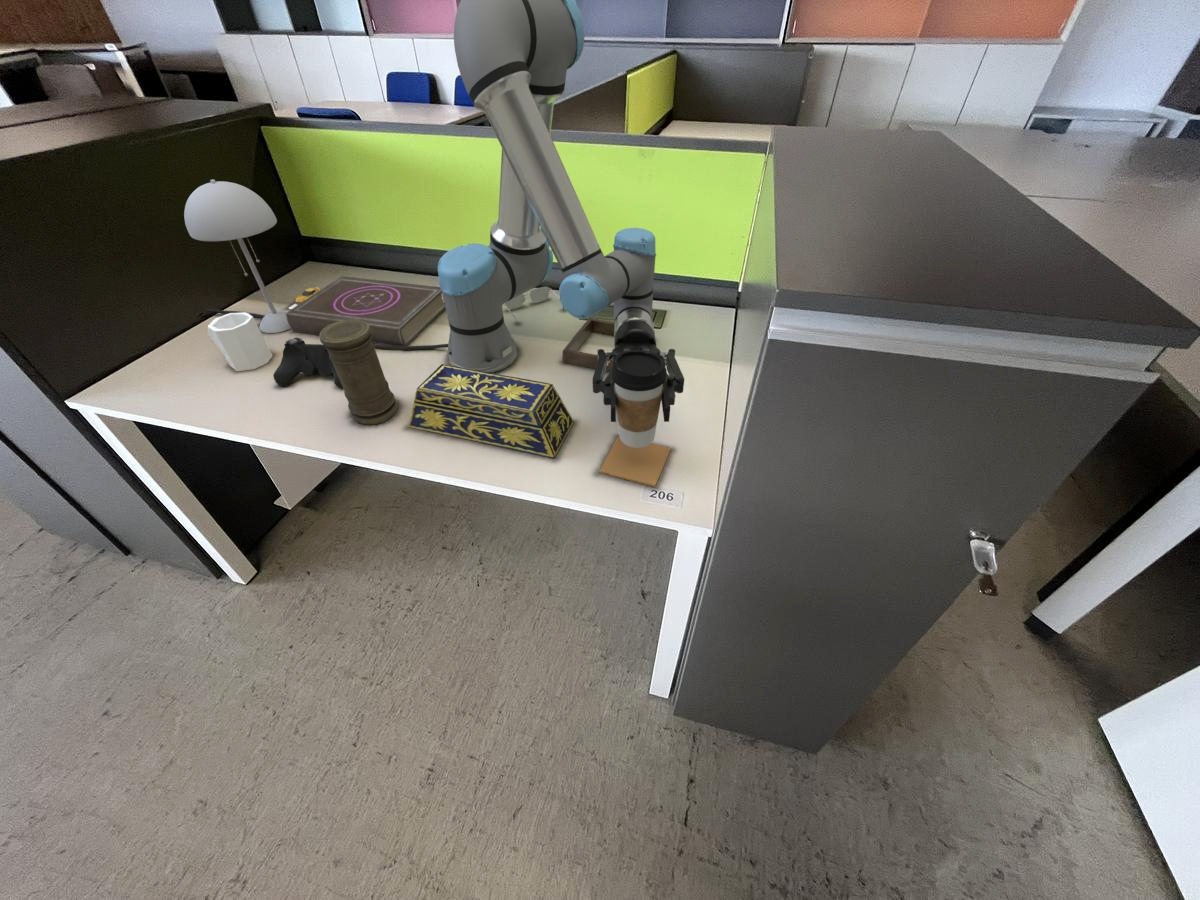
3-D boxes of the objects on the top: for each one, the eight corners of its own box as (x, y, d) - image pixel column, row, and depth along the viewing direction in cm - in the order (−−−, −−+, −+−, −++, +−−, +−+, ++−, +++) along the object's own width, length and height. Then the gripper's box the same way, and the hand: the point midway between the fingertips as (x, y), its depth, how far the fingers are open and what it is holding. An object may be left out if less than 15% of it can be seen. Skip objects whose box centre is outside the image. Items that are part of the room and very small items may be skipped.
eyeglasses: (551, 298, 139) (550, 284, 136) (565, 312, 134) (565, 298, 132) (503, 311, 134) (501, 297, 131) (516, 326, 129) (515, 312, 126)
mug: (280, 353, 120) (261, 314, 113) (252, 373, 113) (230, 333, 107) (237, 346, 122) (216, 307, 115) (208, 366, 116) (183, 326, 109)
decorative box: (554, 458, 92) (551, 419, 86) (408, 427, 99) (396, 388, 93) (575, 422, 100) (573, 383, 94) (438, 395, 107) (428, 357, 101)
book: (448, 305, 137) (444, 287, 133) (403, 348, 121) (398, 329, 117) (347, 293, 143) (341, 275, 139) (292, 332, 127) (283, 314, 123)
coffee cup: (609, 422, 91) (608, 347, 81) (657, 419, 91) (662, 344, 81) (614, 455, 85) (614, 378, 74) (666, 451, 85) (672, 374, 75)
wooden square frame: (563, 362, 116) (562, 350, 114) (589, 328, 127) (589, 317, 125) (631, 376, 111) (631, 364, 109) (652, 340, 123) (653, 328, 121)
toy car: (292, 305, 137) (289, 297, 135) (314, 291, 143) (311, 283, 141) (305, 307, 136) (302, 299, 134) (327, 293, 142) (323, 285, 140)
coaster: (599, 473, 90) (599, 470, 89) (618, 437, 97) (618, 435, 96) (654, 487, 87) (655, 485, 87) (670, 449, 94) (670, 447, 94)
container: (384, 427, 99) (353, 345, 87) (342, 422, 101) (306, 340, 89) (406, 400, 106) (380, 319, 94) (366, 395, 107) (335, 315, 95)
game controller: (364, 384, 115) (360, 338, 112) (347, 388, 108) (342, 339, 105) (292, 382, 115) (287, 336, 113) (272, 386, 109) (265, 337, 106)
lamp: (279, 346, 122) (207, 195, 100) (225, 334, 126) (144, 187, 104) (331, 313, 134) (276, 172, 112) (279, 303, 138) (217, 166, 116)
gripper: (688, 355, 98) (704, 433, 81) (580, 355, 98) (574, 433, 81) (692, 319, 93) (710, 394, 76) (578, 319, 93) (572, 394, 76)
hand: (640, 414), depth 79 cm, fingers closed on coffee cup, 7 cm apart
